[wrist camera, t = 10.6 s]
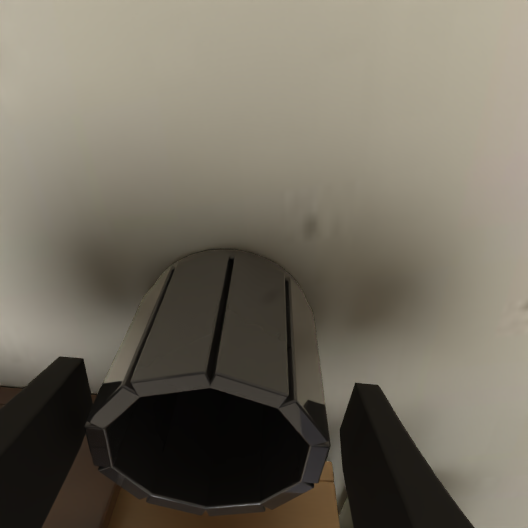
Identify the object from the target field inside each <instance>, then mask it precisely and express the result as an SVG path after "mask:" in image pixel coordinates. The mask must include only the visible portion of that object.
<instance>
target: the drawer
mask: <svg viewBox="0 0 528 528" xmlns="http://www.w3.org/2000/svg"><path fill="white" fill-rule="evenodd" d="M108 528H354V527H353V522H352V517H351V511H350V506H349V501H348V496H347V498H346V501H345V503H344V505H343V508H342V510H341V513H340V515H339V516H338V508H337V500H336V492H335V484H334V475H333V467H332V462H327V461H325V465H324V468H323V471H322V474H321V477H320V480H319V483H317V484H316V483H314V488H313V489H311V490H309V491H307V492H306V493H304V494H302V495H300V496H298V497H296V498H294V499H292V500H290V501H289V502H287V503H285V504H283V505H281V506H279V507H277V508H275V509H273V510H270V509H268V508H266V510H265V512H257V513H245V514H233V515H221V516H209V515H208V513H207V512H206V511H205V512H204V514H203V515H201V516H200V515H196V514H192V513H188V512H183V511H179V510H175V509H171V508H166V507H162V506H158V505H154V504H149V503H147V502H146V498H144V499H137V498H136V497H134V496H133V495H132V494H130V493H129V492H127V491H126V490H124V489H123V488H122V487H121V489H120V492H119V495H118V498H117V501H116V504H115V507H114V510H113V513H112V516H111V519H110V522H109V525H108Z"/></svg>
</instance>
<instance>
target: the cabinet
mask: <svg viewBox="0 0 528 528" xmlns="http://www.w3.org/2000/svg"><path fill="white" fill-rule="evenodd" d="M21 390H22V389H21V388H9V387H0V409H1V408H2V407H3V406H4V405H5V404H6V403H8V402H9V401H10V400H11V399H12V398H13V397H14V396H16V395H17V394H18V393H19V392H20V391H21ZM91 397H92V402H93V403H94V401H95V399H96V397H97V395H91ZM98 468H99V466H94V465H93V461H92V457H91V453H90V449H89V445H88V441H87V437H86V434H85V437H84V439H83V442H82V445H81V447H80V450H79V452H78V454H77V456H76V458H75V460H74V462H73V464H72V467H71V469H70V471H69V473H68V475H67V477H66V479H65V481H64V483H63V485H62V487H61V489H60V491H59V493H58V495H57V497H56V499H55V502H54V504H53V506H52V508H51V510H50V512H49V514H48V516H47V518H46V520H45V522H44V524H43V526H42V528H108V525H109V522H110V519H111V516H112V513H113V510H114V507H115V504H116V501H117V498H118V495H119V492H120V489H121V487H120V486H119V485H117V484H116V483H114V482H113V481H112V480H110V479H109V478H107V477H106V476H105V475H103V474H102V473H100V472H99V471H98Z"/></svg>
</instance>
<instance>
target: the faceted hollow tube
mask: <svg viewBox="0 0 528 528" xmlns="http://www.w3.org/2000/svg"><path fill="white" fill-rule="evenodd" d="M84 429H85V433H86V437H87V441H88V445H89V449H90V453H91V457H92V461H93V465H94V466H99V468H98V471H99V472H100V473H102V474H103V475H105V476H106V477H107V478H109V479H110V480H112V481H113V482H114V483H116V484H117V485H119V486H120V487H122V488H123V489H124V490H126V491H127V492H129V493H130V494H132V495H133V496H134V497H136V498H137V499H144V498H146V502H147V503H149V504H154V505H158V506H162V507H166V508H171V509H175V510H179V511H183V512H188V513H192V514H196V515H200V516H201V515H203V514H204V512H205V511H206V512H207V513H208V515H209V516H221V515H233V514H245V513H257V512H265V510H266V508H268V509H270V510H273V509H275V508H277V507H279V506H281V505H283V504H285V503H287V502H289V501H290V500H292V499H294V498H296V497H298V496H300V495H302V494H304V493H306V492H307V491H309V490H311V489H313V488H314V483H316V484H317V483H319V480H320V477H321V474H322V471H323V468H324V465H325V461H326V458H327V455H328V452H329V449H330V446H331V445H330V437H329V430H328V422H327V414H326V406H325V398H324V390H323V383H322V375H321V367H320V359H319V351H318V343H317V335H316V328H315V320H314V316H313V311H312V309H311V308H310V306H309V305H308V303H307V300H306V297H305V295H304V293H303V291H302V289H301V287H300V286H299V284H298V283H297V282H296V280H295V279H294V278H293V277H292V276H291V275H290V274H289V273H288V272H287V271H285V270H284V269H283V268H282V267H280V266H279V265H277V264H276V263H274V262H273V261H271V260H269V259H267V258H264V257H262V256H259V255H257V254H254V253H250V252H246V251H241V250H233V249H214V250H206V251H202V252H198V253H194V254H192V255H189V256H186V257H184V258H182V259H181V260H179V261H177V262H175V263H174V264H173V265H171V266H170V267H168V268H167V269H166V270H165V271H164V272H163V273H162V274H161V276H160V277H159V278H158V280H157V281H156V283H155V284H154V285H153V286H152V288H151V289H150V290H149V291H148V292H147V293H146V294H145V295H144V297H143V299H142V301H141V303H140V305H139V308H138V310H137V312H136V314H135V316H134V318H133V320H132V322H131V325H130V327H129V329H128V331H127V333H126V335H125V337H124V339H123V341H122V344H121V346H120V348H119V350H118V352H117V354H116V356H115V358H114V361H113V363H112V365H111V367H110V369H109V371H108V373H107V375H106V377H105V380H104V382H103V384H102V386H101V388H100V390H99V392H98V394H97V397H96V399H95V401H94V403H93V405H92V407H91V409H90V411H89V413H88V416H87V418H86V422H85V424H84Z"/></svg>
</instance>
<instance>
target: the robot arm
mask: <svg viewBox="0 0 528 528" xmlns="http://www.w3.org/2000/svg"><path fill="white" fill-rule="evenodd" d="M92 405H93V402H92V397H91V392H90V388H89V383H88V378H87V373H86V369H85V364H84V359H82V358H71V357H59V358H57V359H56V360H55V361H54V362H53V363H52V364H50V365H49V366H48V367H47V368H46V369H45V370H44V371H43V372H41V373H40V374H39V375H38V376H37V377H36V378H35V379H34V380H32V381H31V382H30V383H29V384H28V385H27V386H26V387H25V388H24V389H22V390H21V391H20V392H19V393H18V394H17V395H16V396H14V397H13V398H12V399H11V400H10V401H9V402H8V403H6V404H5V405H4V406H3V407H2V408H1V409H0V528H42V526H43V524H44V522H45V520H46V518H47V516H48V514H49V512H50V510H51V508H52V506H53V504H54V502H55V499H56V497H57V495H58V493H59V491H60V489H61V487H62V485H63V483H64V481H65V479H66V477H67V475H68V473H69V471H70V469H71V467H72V464H73V462H74V460H75V458H76V456H77V454H78V452H79V450H80V447H81V445H82V442H83V439H84V437H85V434H86V433H85V429H84V424H85V422H86V418H87V416H88V413H89V411H90V409H91V407H92ZM340 441H341V454H342V466H343V473H344V479H345V484H346V490H347V495H348V501H349V506H350V511H351V517H352V522H353V527H354V528H474V526H473V525H472V524H471V523H470V521H469V520H468V519H467V517H466V516H465V515H464V513H463V512H462V511H461V510H460V508H459V507H458V505H457V504H456V503H455V501H454V500H453V499H452V497H451V496H450V495H449V493H448V492H447V490H446V489H445V488H444V486H443V485H442V483H441V482H440V481H439V479H438V478H437V476H436V475H435V473H434V472H433V471H432V469H431V468H430V466H429V465H428V463H427V462H426V460H425V459H424V457H423V456H422V454H421V453H420V451H419V450H418V448H417V447H416V445H415V444H414V442H413V440H412V439H411V437H410V436H409V434H408V433H407V431H406V429H405V428H404V426H403V425H402V423H401V421H400V420H399V418H398V416H397V415H396V413H395V412H394V410H393V408H392V407H391V405H390V403H389V401H388V400H387V398H386V396H385V395H384V393H383V391H382V390H381V388H380V387H379V386H378V385H373V384H362V383H355V386H354V389H353V392H352V395H351V398H350V401H349V404H348V407H347V410H346V413H345V416H344V419H343V422H342V425H341V428H340Z"/></svg>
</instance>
